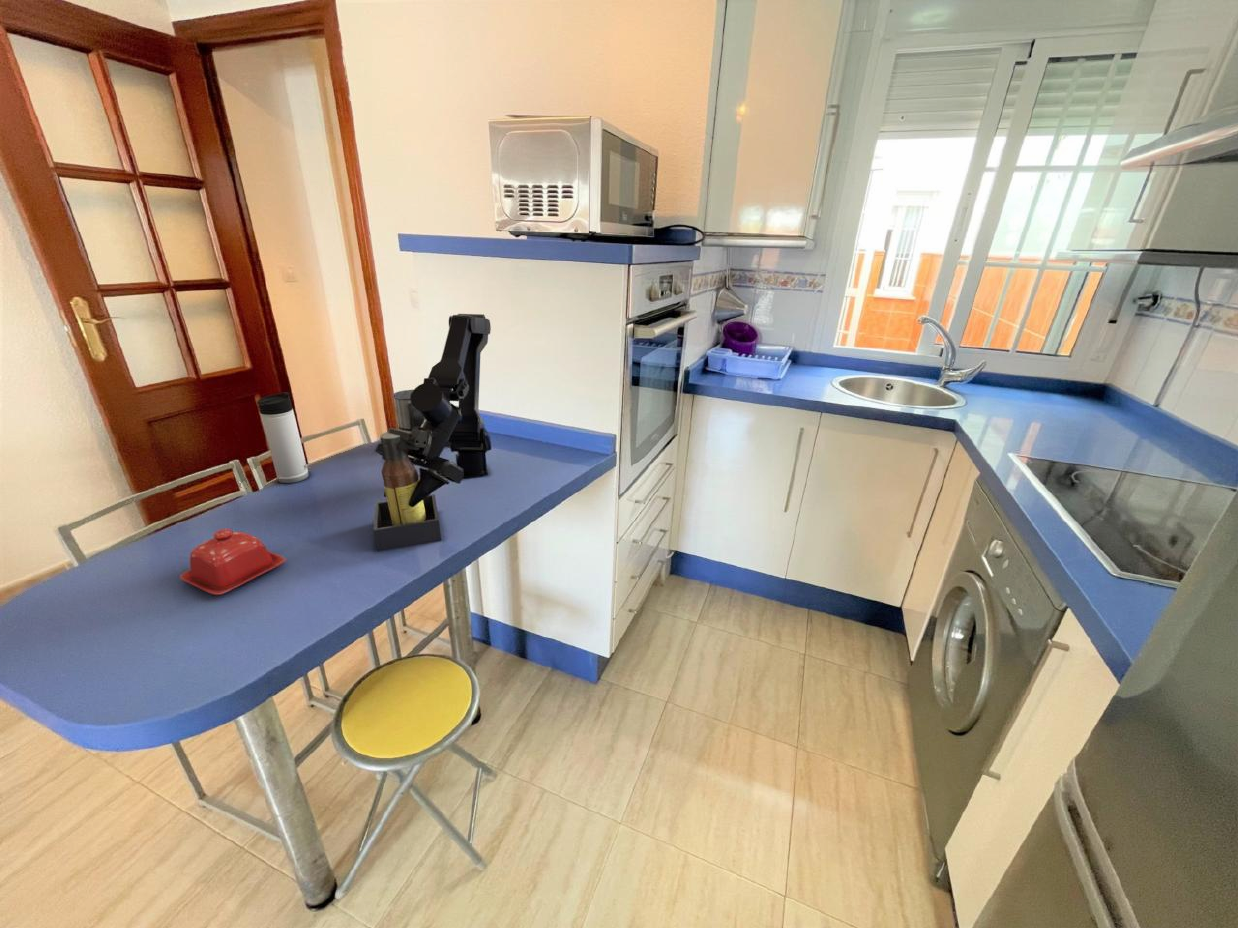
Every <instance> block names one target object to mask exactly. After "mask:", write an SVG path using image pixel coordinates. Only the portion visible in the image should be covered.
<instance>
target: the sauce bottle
mask: <svg viewBox="0 0 1238 928" xmlns="http://www.w3.org/2000/svg"><path fill="white" fill-rule="evenodd" d="M379 438H380V439H379V440H380V442H381V443H382V444H383V448H384V452H385V460H384V462H383V464H382V469H381V476H382V480H383V487H384V492H386V497H385V498H386V501H387V502H388V507H389V511H390V515H391V520H392V524H393V526H395V525H402V524H408V523H414V522H421V521H426V513H425V508H424V503H423V500H422V501H421V502H419V503H418V504H417V505H415V506H414V507H411V506H409V505H408V504H409V501H410V499H411V496H412V494H413V492H414V490H415V488H416V486H417V484H418V482H419V480H420V476H419V472H418V471H417V469H416V467H415V465H414V464H412V462H411V460H410V458H409V456H408V454H407V451H406V450H403V449H398V448H397V445H398V444H399V442H400V436H399V435H395V434H391V433H388V431H386V432H383V433H381V434H380V436H379Z"/></svg>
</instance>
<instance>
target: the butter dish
mask: <svg viewBox="0 0 1238 928" xmlns="http://www.w3.org/2000/svg"><path fill="white" fill-rule="evenodd" d="M286 559H287V558H285V557H283V556H281V555H279V554H277V553H275V552H272V551H269V550H268V549H267V548H266V546H265V544H264V543H263V541H261V540H260V539H259V538H257V537H256V536H253V534H249V533H246V532H242V531H241V532H240V531H233V530H232V529H229V528H222V529H219V530H217V531H215V532H214V533H213V538H211V539H208V540H207V541H205V542H203V543H201V544H199V545H197V546H196V547H195V548H193V550H192V551H191V552H190V555H189V563H190V569H188V570H187V571H184V573H182V574H180V576H179V578H180V580H182V581H183V582H186V583H187V584H190V585H192V586H194V587H196V588H197V589H200V590H201V591H204V592H206V593H208V594H211V595H215V596H221V595H224V594H226V593H228V592H230V591H232V590H234V589H236V588H238V587H240V586H242V585H243V584H245V583H248V582H249V581H252V580H254V579H256V578H258V577H259V576H262V575H263V574H266V573H267V572H269V571H271V570H273V569H276V568H277V567H280V566H281V565H283V564H284V563H285V562H286Z"/></svg>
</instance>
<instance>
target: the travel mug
mask: <svg viewBox="0 0 1238 928" xmlns="http://www.w3.org/2000/svg"><path fill="white" fill-rule="evenodd" d="M291 397H292V395H291V393H290V392H281V393H274V394H270V395H265V396H263V397H261V398H259V399H258V400H257V407H258V409H259V415H260V419H261V423H262V426H263V430H264V434H265V437H266V442H267V445H268V448H269V453H270V456H271V460H272V463H273V467H274V471H275V475H276V478H277V481H278V482H279V483H282V484H293V483H294V484H295V483H298V482H302V481H304V480H305V479H307V478H309V474H310V473H309V469H308V466H307V461H306V458H305V457H306V456H305V454H304V448H303V445H302V441H301V436H300V432H299V428H298V424H297V420H296V416H295V412H294V408H293V405H292V401H291ZM281 477H283V478H281ZM279 478H281V479H279ZM278 479H279V480H278Z"/></svg>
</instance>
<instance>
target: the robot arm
mask: <svg viewBox="0 0 1238 928" xmlns="http://www.w3.org/2000/svg"><path fill="white" fill-rule="evenodd" d="M491 330H492V329H491V321H490V319H489V318H486V316H485V314H481V313H457V314H452V315H450V316H449V317H448V331H447V334H446V339H445V342H444V346H443V350H442V353H441V358H440V360H439V361H438V362H437V363H436V364H435V365H433V366H432V367H431V369H430V371H429V374H428V376H427V377H424V378H423V383H421V384H418V385H417V386H416V387H414V389H412V390H413V392H412V393H411V396H410V400H411V404H412V405H413V407H414V408H415V409H416V410H417V411H418V412H419V413H420V414H421V416H422V417H423V418H424V419H425V420H424V422H423V424H422V426H421V427H419V426H416V427H414V428H413V430H412V431H411V432H410V431H405V430H399V428H392V427H388V430H387V432H388V433H391V434H395V435H399V436H400V442H399V444H398V445H397V448H398V449H403V450H406V451H407V454H408V456H409V458H410V460H411V462H412V464H413V465H414V466H417V467H419V482H418V484H417V486H416V488H415V490H414V492H413V494H412V496H411V499H410V501H409V504H408V505H409V506H411V507H414V506H415V505H417V504H418V503H419V502H421V501H422V500H423V499H424V498H426V497H427V496H428V495H432V494H433V493H434V492H435V491H437V490H438V489H440V488H442V487H443V486H445V485H449V484H450V482H452V483H456V484H459V485H460V484H461V482H462V481H463V479H467V478H475V477H483V476H489V470H488V467H487V456H486V453H487V452H489V451H491V450H492V441H491V436H490V434H489V432H488V431H487V428H486V423H485V421H484V419H483V418H482V416H481V413H480V412H479V404H480V377H481V354H482V351H483V350H484V349H485V348H486V346H487V345H488V342H489V335H491V332H492V331H491ZM452 402H458V406H456V405H455V404H453V403H452ZM445 448H449V449H450V453H454V452H456V454H455V462H453V461H451V460H450V459H447V458H443V457H441V455H442V453H443V451H444V449H445ZM374 453H377V454H378V455H380V456H381V459H382V460H383V461H385V452H384V448H383V444H382V443H381V441H380V442H379V443H378V444H377V446H376V448H375V450H374ZM383 497H384V498H387V497H386V492H385V491H384V493H383Z"/></svg>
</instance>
